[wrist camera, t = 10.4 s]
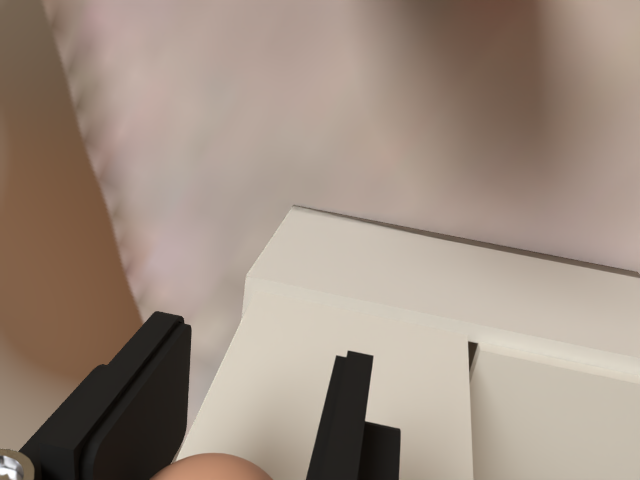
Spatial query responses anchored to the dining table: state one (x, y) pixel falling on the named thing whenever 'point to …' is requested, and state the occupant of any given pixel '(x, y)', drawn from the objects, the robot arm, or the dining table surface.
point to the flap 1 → (311, 388)
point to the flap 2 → (551, 418)
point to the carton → (455, 287)
